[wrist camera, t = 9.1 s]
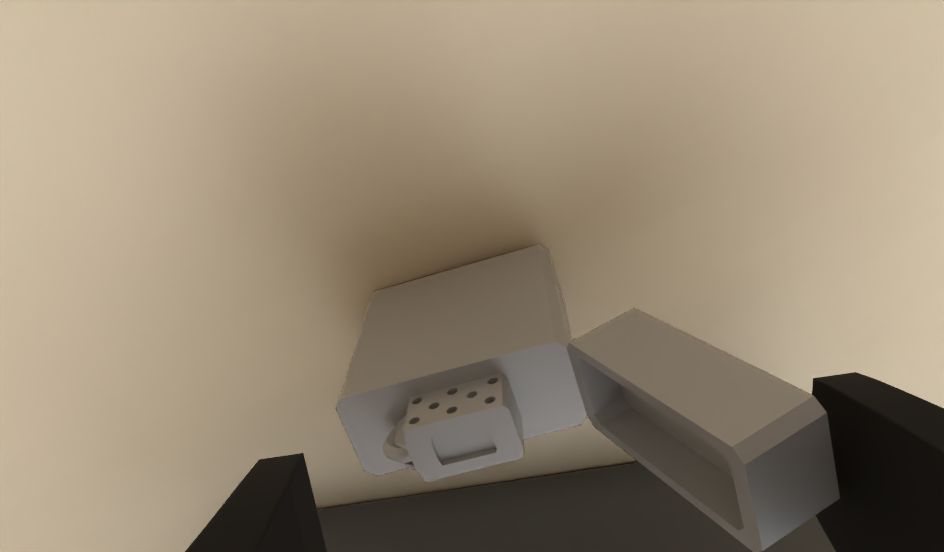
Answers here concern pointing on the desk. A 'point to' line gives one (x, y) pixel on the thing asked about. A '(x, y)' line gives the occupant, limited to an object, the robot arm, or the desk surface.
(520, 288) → the lighter
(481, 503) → the sink
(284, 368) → the desk surface
